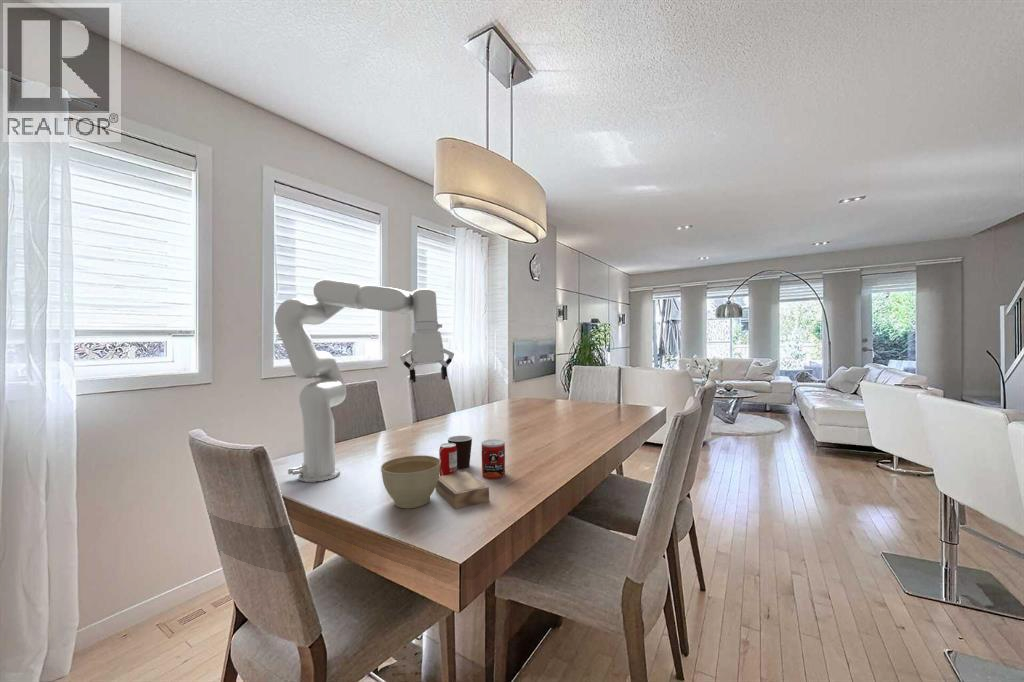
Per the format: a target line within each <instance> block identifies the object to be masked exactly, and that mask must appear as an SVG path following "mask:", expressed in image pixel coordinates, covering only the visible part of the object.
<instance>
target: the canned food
mask: <svg viewBox="0 0 1024 682" xmlns="http://www.w3.org/2000/svg"><path fill="white" fill-rule="evenodd" d="M505 443H506V442H505V441H504V440H502V439H497V438H496V439H495V438H494V439H486V440H483V441H482V442H481V474H482V477H484V478H485V479H487V478H488V479H489V480H497V479H496V478H498V479H500V478H503V477H504V476H505V475H506V450H505V449H506V446H505V445H506V444H505Z"/></svg>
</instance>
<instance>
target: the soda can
mask: <svg viewBox="0 0 1024 682" xmlns="http://www.w3.org/2000/svg"><path fill="white" fill-rule="evenodd" d="M439 446H440V447H439V450H438V451H439V453H438V455H439V458H438V459H440V461H441V465H440V474H439V476H444V475H449V474H454V473H458V469H457V448H456V444H454V443H448V442H445V443H441V444H440V445H439Z"/></svg>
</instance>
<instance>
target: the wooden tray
mask: <svg viewBox="0 0 1024 682" xmlns="http://www.w3.org/2000/svg"><path fill="white" fill-rule="evenodd" d="M435 491H436V492H437V494H439V495H440V496H441V497H442V498H443V499H444V500H445V501H446V502H447V503H448V504H450V506H451V507H452V508H454V509H455V510H458V509H462V508H465V507H467V508H468V507H470V506H475V505H479V504H480V505H481V504H482V503H488V501H489V502H490V487H489V486H488V485H487V484H485V483H484V482H483V481H481V480H480V479H478V478H477V477H476V476H473V474H471V473H469V472H468V471H466V470H464V471H460V472H457V473H454V474H449V475H444V476H440V475H439V479H438V482H437V485H436V487H435Z"/></svg>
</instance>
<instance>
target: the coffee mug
mask: <svg viewBox="0 0 1024 682" xmlns="http://www.w3.org/2000/svg"><path fill="white" fill-rule="evenodd" d="M472 442H473V437H472V436H470V435H452V436H450V437H448V438H447V443H454V444H456V448H457V470H465V468H466V469H468V468H469V467H470V465H471V455H472V454H471V453H472V444H473V443H472Z"/></svg>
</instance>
